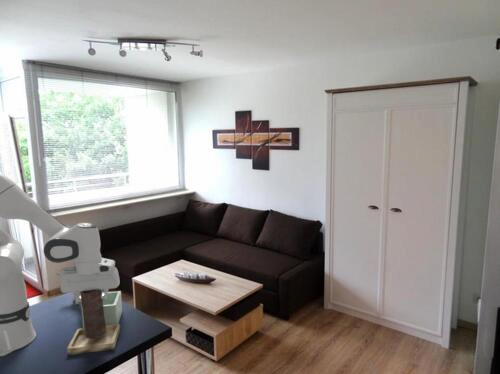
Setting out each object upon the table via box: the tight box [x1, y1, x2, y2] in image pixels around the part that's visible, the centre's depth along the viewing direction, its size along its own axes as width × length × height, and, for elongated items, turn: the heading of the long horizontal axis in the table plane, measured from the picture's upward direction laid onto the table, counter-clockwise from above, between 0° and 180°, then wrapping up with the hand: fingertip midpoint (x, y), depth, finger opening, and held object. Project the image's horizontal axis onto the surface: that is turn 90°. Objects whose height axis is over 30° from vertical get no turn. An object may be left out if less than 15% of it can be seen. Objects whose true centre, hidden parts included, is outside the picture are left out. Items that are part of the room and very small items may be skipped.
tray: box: [66, 323, 121, 356], centre depth 130 cm, size 16×13×2 cm
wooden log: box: [81, 289, 107, 339], centre depth 128 cm, size 8×7×20 cm
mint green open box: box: [81, 290, 123, 328], centre depth 144 cm, size 13×13×10 cm
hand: (92, 300), depth 127 cm, fingers closed on wooden log, 7 cm apart
